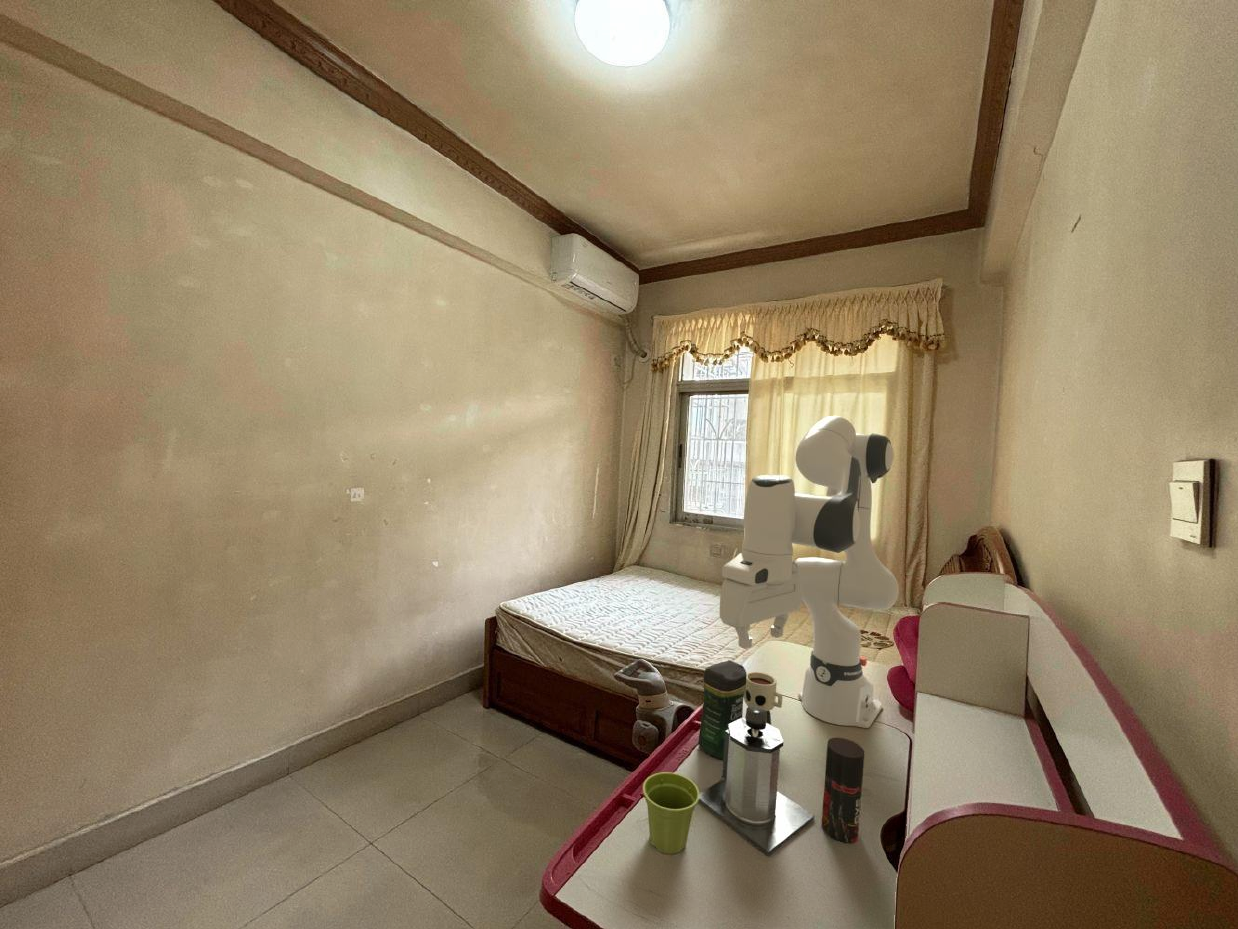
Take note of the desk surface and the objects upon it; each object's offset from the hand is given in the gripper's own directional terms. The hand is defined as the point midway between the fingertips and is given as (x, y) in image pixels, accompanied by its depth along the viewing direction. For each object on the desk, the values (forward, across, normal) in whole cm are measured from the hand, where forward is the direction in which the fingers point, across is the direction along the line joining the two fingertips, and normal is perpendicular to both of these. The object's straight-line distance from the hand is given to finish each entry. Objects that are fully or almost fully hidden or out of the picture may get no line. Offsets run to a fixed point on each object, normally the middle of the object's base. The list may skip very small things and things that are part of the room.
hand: (761, 641), depth 91 cm
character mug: (+32, -23, -15) cm, 42 cm away
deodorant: (+32, -9, +12) cm, 35 cm away
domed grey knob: (+27, 0, 0) cm, 27 cm away
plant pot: (+32, +17, -4) cm, 36 cm away
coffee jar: (+32, -11, -16) cm, 37 cm away
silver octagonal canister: (+32, 0, 0) cm, 32 cm away
